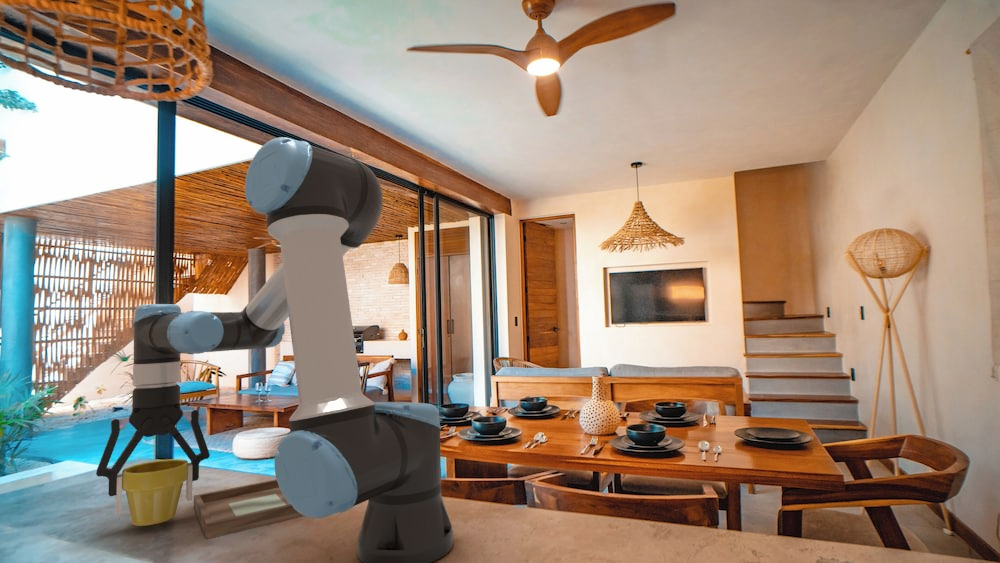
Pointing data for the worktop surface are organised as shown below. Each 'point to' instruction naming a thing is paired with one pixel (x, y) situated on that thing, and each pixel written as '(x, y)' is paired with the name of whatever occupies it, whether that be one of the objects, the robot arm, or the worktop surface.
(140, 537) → the worktop surface
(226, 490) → the walnut tray
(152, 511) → the plant pot
